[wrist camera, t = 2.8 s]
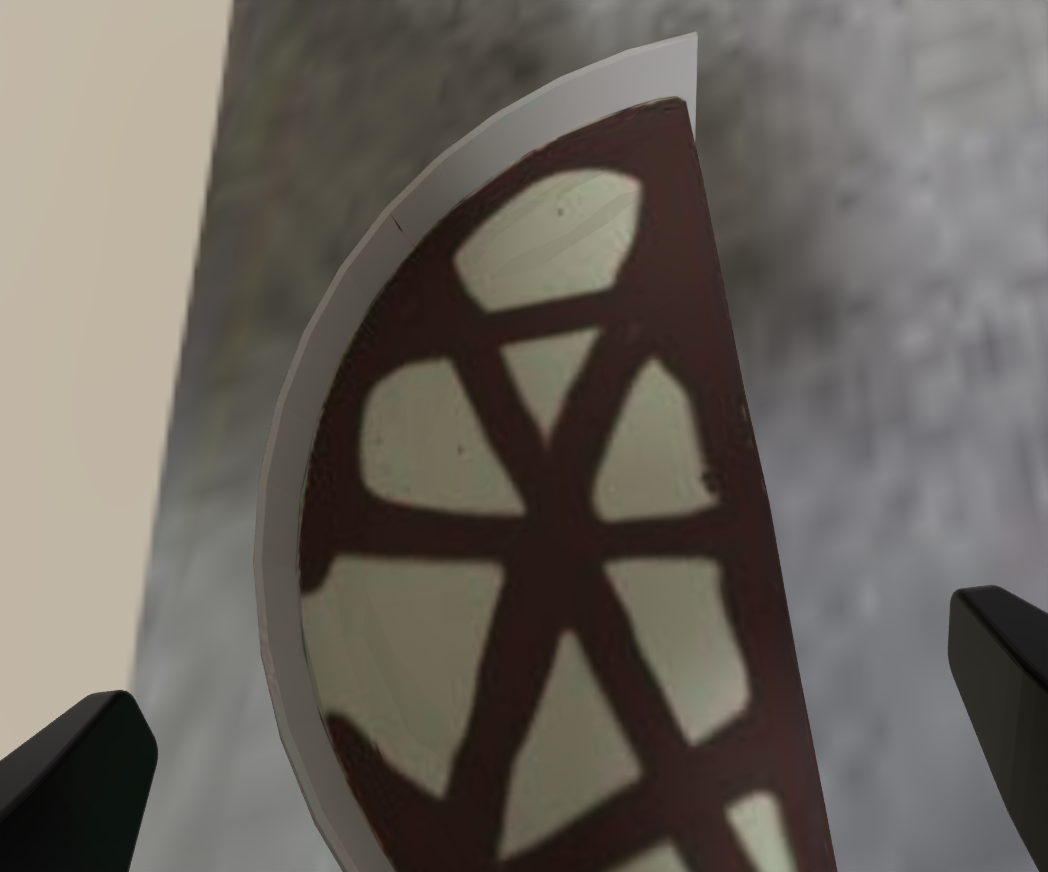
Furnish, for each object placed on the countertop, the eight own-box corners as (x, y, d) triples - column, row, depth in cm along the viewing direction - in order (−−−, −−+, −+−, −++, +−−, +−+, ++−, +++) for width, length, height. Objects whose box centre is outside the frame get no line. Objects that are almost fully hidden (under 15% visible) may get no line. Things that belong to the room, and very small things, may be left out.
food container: (416, 375, 21) (207, 91, 11) (676, 334, 20) (690, -5, 10) (456, 965, 17) (189, 1300, 7) (782, 940, 16) (956, 1273, 7)
